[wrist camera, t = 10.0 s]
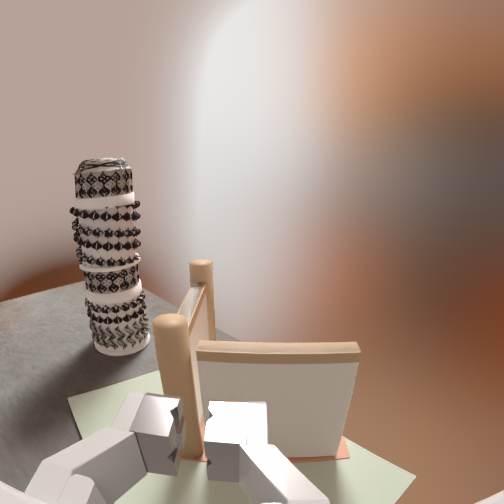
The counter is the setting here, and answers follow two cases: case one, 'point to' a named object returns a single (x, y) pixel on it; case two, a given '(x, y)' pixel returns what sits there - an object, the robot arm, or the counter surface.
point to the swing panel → (285, 388)
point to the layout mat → (230, 493)
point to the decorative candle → (110, 255)
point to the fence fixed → (187, 350)
